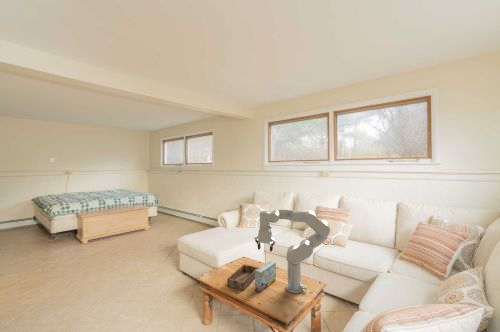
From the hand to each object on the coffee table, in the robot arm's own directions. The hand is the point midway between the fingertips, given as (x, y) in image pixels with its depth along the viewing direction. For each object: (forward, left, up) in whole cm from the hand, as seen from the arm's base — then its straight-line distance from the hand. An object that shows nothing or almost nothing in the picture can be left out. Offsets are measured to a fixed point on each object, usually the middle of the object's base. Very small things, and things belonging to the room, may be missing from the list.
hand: (265, 250), depth 178 cm
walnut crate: (+19, 0, -27) cm, 33 cm away
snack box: (0, 0, -27) cm, 27 cm away
